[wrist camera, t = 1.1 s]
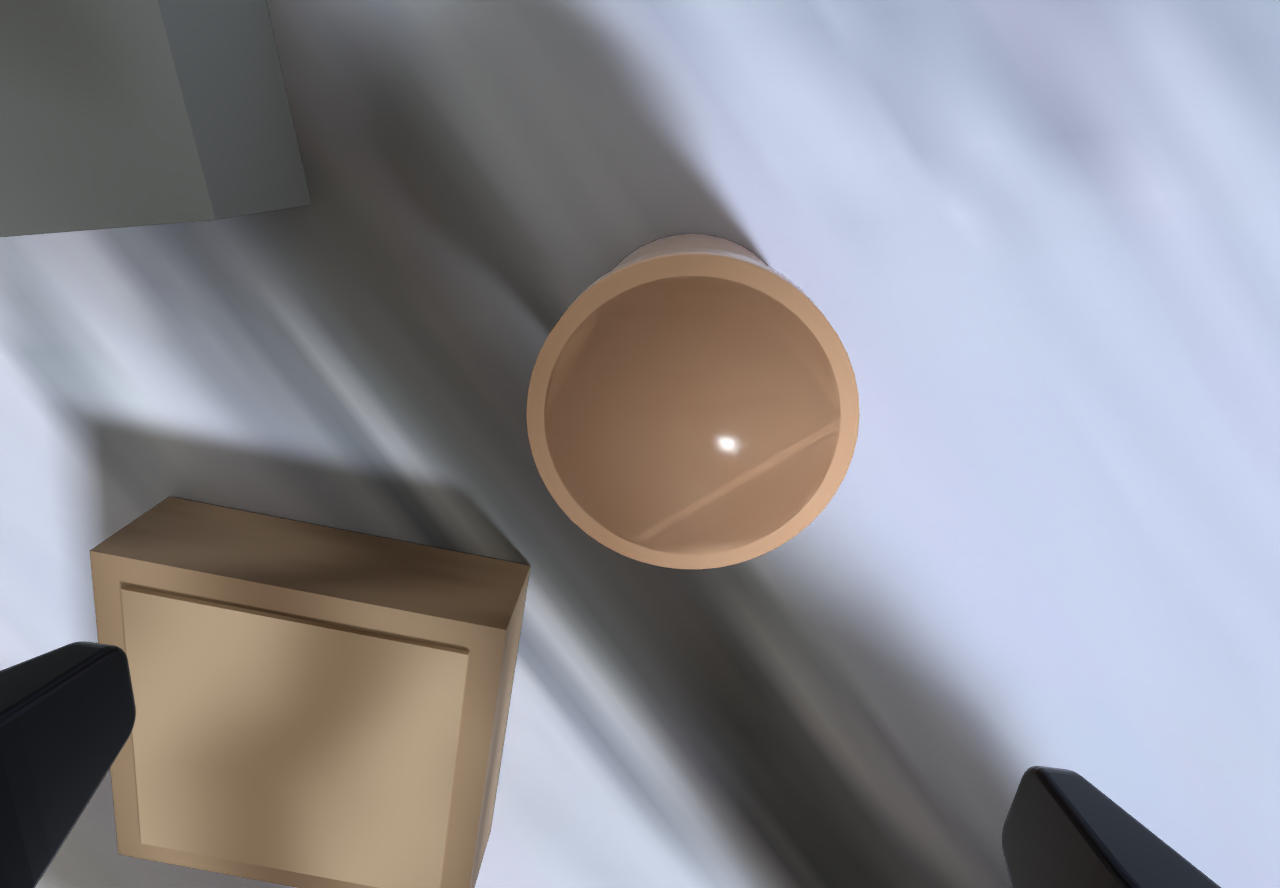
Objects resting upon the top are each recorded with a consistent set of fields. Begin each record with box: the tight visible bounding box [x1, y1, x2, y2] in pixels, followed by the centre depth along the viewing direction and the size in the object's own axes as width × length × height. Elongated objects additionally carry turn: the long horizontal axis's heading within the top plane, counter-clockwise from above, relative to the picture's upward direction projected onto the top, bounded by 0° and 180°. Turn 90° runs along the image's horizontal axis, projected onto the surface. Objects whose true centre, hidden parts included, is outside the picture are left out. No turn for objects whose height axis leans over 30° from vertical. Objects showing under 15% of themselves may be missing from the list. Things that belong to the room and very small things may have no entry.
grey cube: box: [0, 0, 311, 237], centre depth 16 cm, size 4×4×4 cm
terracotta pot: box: [526, 234, 859, 569], centre depth 16 cm, size 6×6×6 cm
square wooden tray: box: [90, 497, 530, 888], centre depth 21 cm, size 10×10×3 cm
